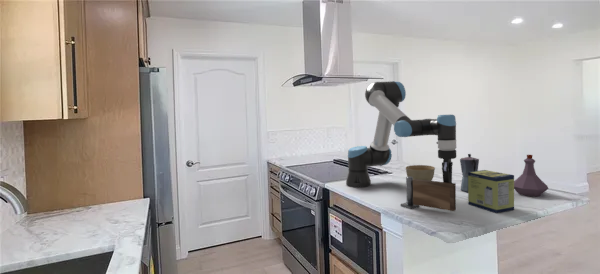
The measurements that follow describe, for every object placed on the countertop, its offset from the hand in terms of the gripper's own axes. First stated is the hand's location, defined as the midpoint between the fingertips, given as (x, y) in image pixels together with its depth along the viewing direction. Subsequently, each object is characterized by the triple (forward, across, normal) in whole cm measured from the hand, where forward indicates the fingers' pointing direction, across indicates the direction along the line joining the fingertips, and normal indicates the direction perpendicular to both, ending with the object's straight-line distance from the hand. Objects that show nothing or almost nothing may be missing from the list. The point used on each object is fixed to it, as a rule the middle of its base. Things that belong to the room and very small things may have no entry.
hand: (448, 201), depth 148 cm
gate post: (+3, +3, -16) cm, 17 cm away
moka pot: (+4, -38, +5) cm, 38 cm away
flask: (+5, -42, +31) cm, 52 cm away
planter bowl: (+4, -40, -21) cm, 46 cm away
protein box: (+4, -10, +16) cm, 20 cm away
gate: (+2, +5, -5) cm, 7 cm away
